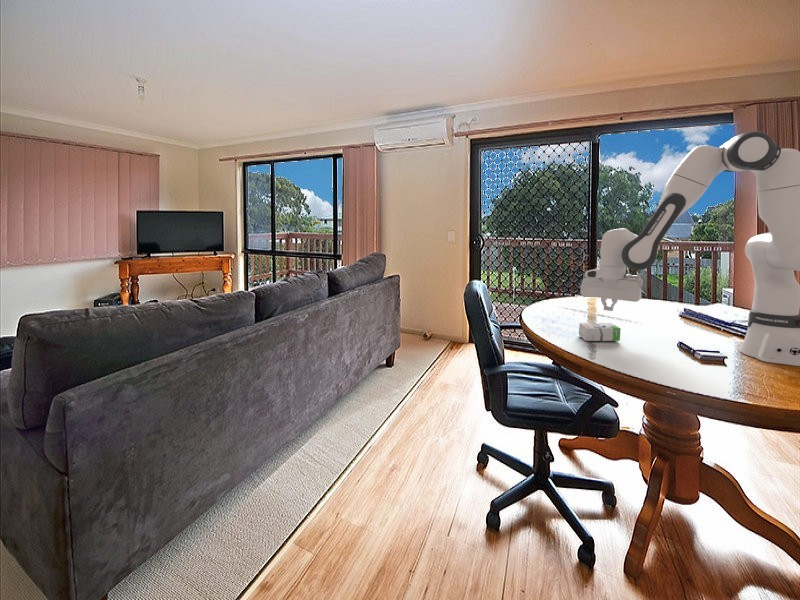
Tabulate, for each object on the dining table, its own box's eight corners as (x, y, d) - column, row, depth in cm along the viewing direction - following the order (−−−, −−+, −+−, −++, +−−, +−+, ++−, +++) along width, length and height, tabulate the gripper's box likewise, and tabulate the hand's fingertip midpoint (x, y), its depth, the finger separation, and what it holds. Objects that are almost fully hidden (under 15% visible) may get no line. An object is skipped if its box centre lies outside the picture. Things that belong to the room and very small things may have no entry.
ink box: (621, 328, 146) (587, 328, 147) (620, 341, 147) (586, 341, 148) (611, 322, 155) (578, 322, 156) (610, 335, 156) (578, 335, 157)
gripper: (646, 275, 145) (641, 313, 148) (586, 270, 159) (583, 305, 162) (641, 276, 141) (637, 316, 144) (580, 272, 155) (577, 307, 157)
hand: (608, 310), depth 153 cm, fingers closed
